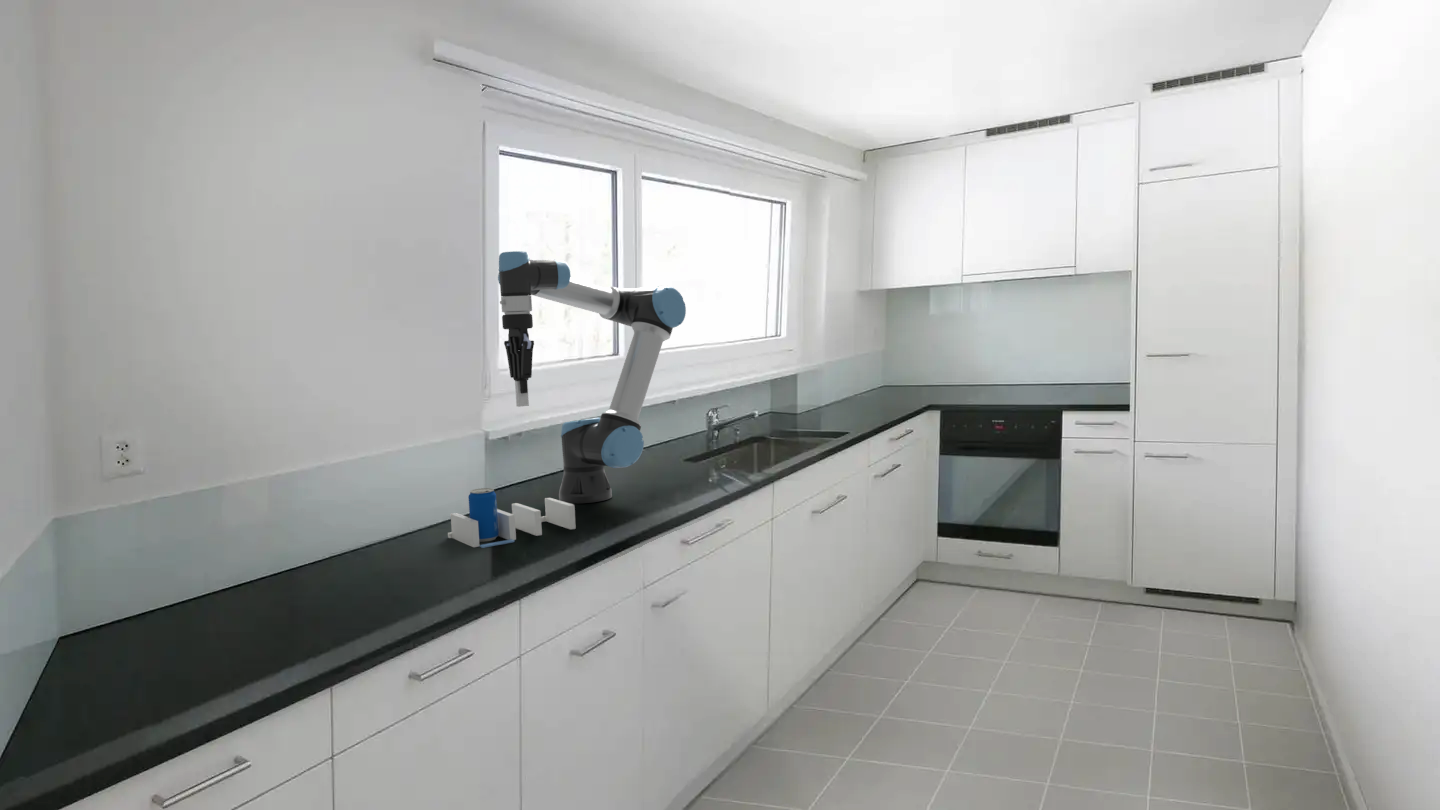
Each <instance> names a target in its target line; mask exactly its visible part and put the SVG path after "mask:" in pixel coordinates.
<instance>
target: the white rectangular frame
mask: <svg viewBox="0 0 1440 810" xmlns="http://www.w3.org/2000/svg"><path fill="white" fill-rule="evenodd" d="M544 506H545V508H544V509H545V515H543V516H542V514H541V513H542V511H541V510H540V509H537V508H534V507H531V506H527V505H525V504H523V503H522V504H521V503H518V502H515V503H511V513H510V512H507V511H505V510H501V509H499V508H497V517H498V532H499V535H498V536H497V537H500V538H503V539H505V540H510V539H512V540H514V541H516V540H517V533H516V532H517V530H520V531H522V532H525V533H527V534H531V535H533V536H537V537H538V536H542V535H543V529H542V523H544V522H548V523H550V524H553V525H556V526H558V527H563V528H565V529H568V530H575V529H576V527H577V526H576V510H575V509H576V508H575V504H574V503H566V502H563V501H560V500H559V499H555V498H552V497H545V498H544ZM450 524H451V525H450V526H451V532H447V538H448V539H453V540H456V541H458V542H460V543H463V544H465V545H467V546H470V547H472V548H477V547H479V548H480V545H481V544H480V542H479V529H478V521H476V520H474V519H471V518H470V517H468V516H467V515H463V514H461V513H457V512H453V513H452V512H451V513H450Z"/></svg>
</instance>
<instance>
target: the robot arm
mask: <svg viewBox="0 0 1440 810" xmlns="http://www.w3.org/2000/svg"><path fill="white" fill-rule="evenodd" d="M529 255H530V254H529V253H528V252H527V251H517V250H516V251H504V252H501V253H500V254H499V256H498V274H497V281H498V284H499V287H500V288H499V289H500V290H499V291H500V301H499V303H500V305H501V312H502V313H504V314H503V315H502V316H501V320H502V321H501V322H502V329H504V330H508V338H507V340H504V341H503V344H504V348H505V350H506V357H507V364H508V369H509V375H510V378H511V379H512V378H513V381H514V385H515V403H516V407H518V408H519V407H520V408H521V407H528V406H530V403H529V385H528V380H529V379H531V378H532V376H533V374H532V371H533V353H534V352H533V351H534V345H535V341H534V340H531V339H530V336H529V331H528V329H532V328H533V327H534V326H533V325H534V323H533V321H534V320H533V314H532V313H531V312H532V311H533V304H532V296H534V297H538V298H541V299H542V298H543V299H545V300H548V301H552V302H556V303H559V304H563V305H567V306H571V307H574V308H578V309H582V310H585V311H589V312H592V313H596V314H599V316H600V317H601V318H602V319H605V320H608V321H611V322H616V323H617V324H621V325H624V326H628V327H631V328H632V330H633V336H632V337H631V342H630V345H629V347H628V349H627V350H628V352H627V354H626V357H625V358H624V359H625V360H624V363H623V366H622V369H621V371H620V375H619V378H618V381H617V384H616V387H615V391H614V393H613V396H612V399H611V403H610V406H609V408H608V409H607V410H606V411H604V412H601V416H600V417H594V418H585V419H581V420H572V421H565V422H563V424H562V425H561V433H560V434H561V435H560V437H561V448H562V449H561V450H562V464H563V465H562V466H563V476H562V480H561V484H560V487H559V490H558V500H560V501H563V502H566V503H570V504H588V503H589V504H590V503H596V502H603V501H606V500H607V501H608V500H609V499H611V498H613V495H612V491H613V490H612V486H611V485H610V482H609V479H608V477H607V475H606V472H605V467H610V468H614V469H617V468H618V469H619V468H627V467H631V466H632V465H633V464H635V463H636V462H637V461H638V460H639V458H640V457H641V455H642V453H643V452H644V451H643V450H644V444H645V441H644V437H643V433H642V432H641V428H642V425H641V422H640V420H639V418H640V415H641V411H642V408H643V404H644V402H645V399H646V396H647V392H648V390H649V386H650V383H651V379H652V378H653V377H652V376H653V374H654V370H655V368H656V365H657V361H658V358H659V355H660V352H661V349H662V345H663V342H666V341H667V340H669V339H670V338H671V335H672V332H673V328H674V329H675V328H676V327H677V328H678V326H680V325H682V323H684V320H685V318H686V314H687V309H686V308H687V307H686V303H685V301H684V297H683V296H682V294H681V292H679V291H678V289H676V288H674V287H672V286H664V285H659V286H654V287H653V286H652V287H636V288H621V287H620V288H619V287H615V286H608V287H602V286H599V285H595V284H593V283H588V282H585V281H582V280H579V279H576V278H572V276H571V268H570V266H569V265H568V263H567V262H566V261H565V260H558V259H557V260H556V259H542V260H541V259H536V260H533V259H530V256H529Z"/></svg>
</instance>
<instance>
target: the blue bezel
mask: <svg viewBox="0 0 1440 810" xmlns="http://www.w3.org/2000/svg"><path fill="white" fill-rule="evenodd" d="M511 543H515V540H512V539H510V540H507V539H505V540H500V541H499V540H498V541H495V542H489V543H483V544H480V546H479V548H481V549H484V548H489V547H494V546H500V545H506V544H511Z"/></svg>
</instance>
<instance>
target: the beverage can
mask: <svg viewBox="0 0 1440 810" xmlns="http://www.w3.org/2000/svg"><path fill="white" fill-rule="evenodd" d="M494 489H495V488H490V487H485V488H484V487H483V488H482V487H481V488H475V489H471V490H470V491H469V495H468V511H469V518H471V519H474V520H476V521H478V529H479V543H483V542H491V541H494V540H496V538H497V537H499V536H498V535H499V532H498V517H497V509H498V503H497V493H496V492H495V490H494Z"/></svg>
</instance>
